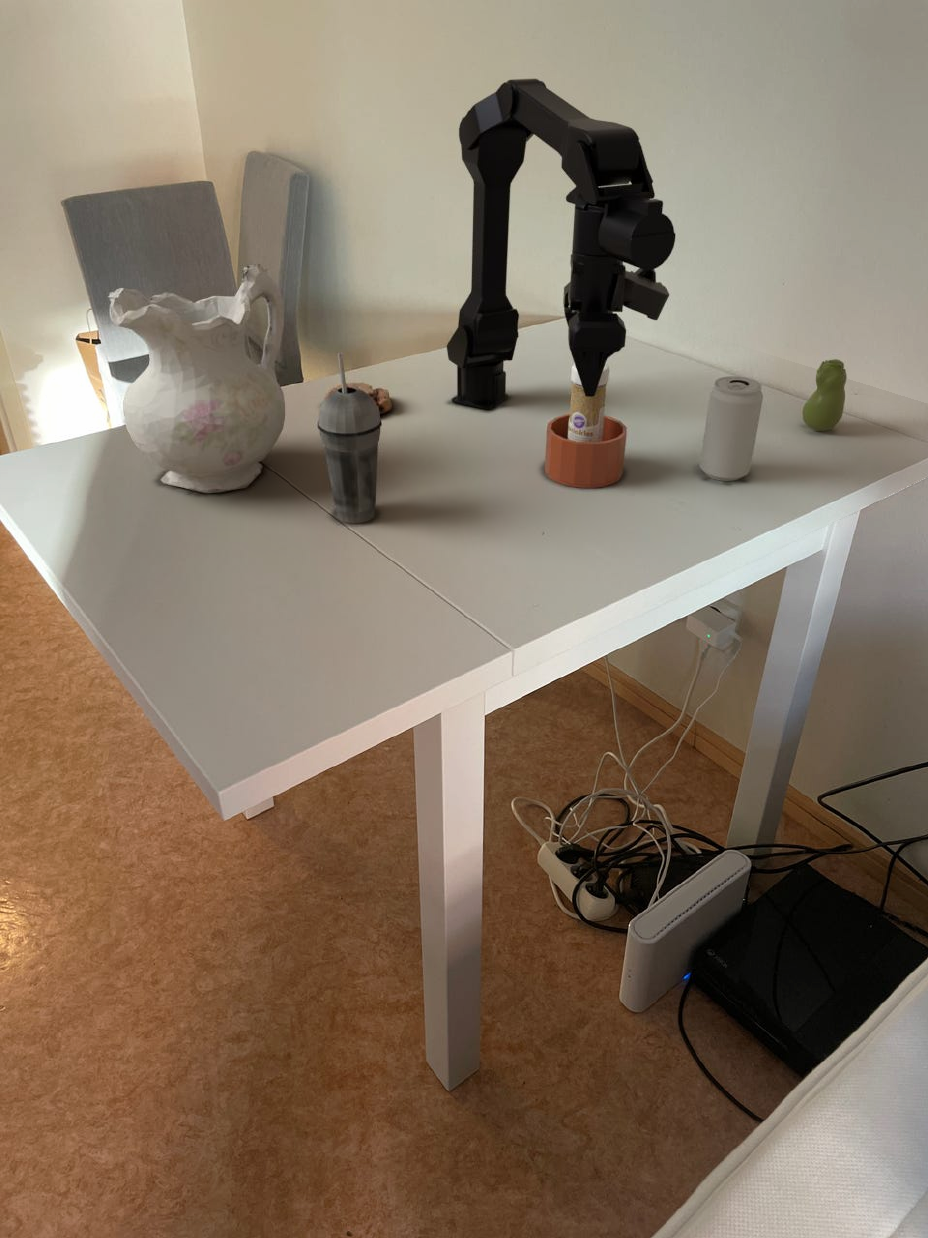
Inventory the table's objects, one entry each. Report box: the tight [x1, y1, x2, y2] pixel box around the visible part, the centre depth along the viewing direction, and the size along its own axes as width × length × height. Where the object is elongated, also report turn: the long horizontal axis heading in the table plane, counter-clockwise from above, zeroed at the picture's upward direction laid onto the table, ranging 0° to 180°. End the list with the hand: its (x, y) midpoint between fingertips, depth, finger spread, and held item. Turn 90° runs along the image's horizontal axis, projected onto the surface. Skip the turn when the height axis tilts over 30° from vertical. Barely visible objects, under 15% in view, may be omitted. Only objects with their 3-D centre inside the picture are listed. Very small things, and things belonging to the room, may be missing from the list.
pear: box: [801, 358, 848, 432], centre depth 134 cm, size 6×5×10 cm
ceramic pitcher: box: [108, 263, 286, 494], centre depth 118 cm, size 22×20×25 cm
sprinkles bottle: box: [568, 363, 610, 443], centre depth 121 cm, size 5×5×13 cm
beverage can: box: [699, 375, 764, 482], centre depth 121 cm, size 6×6×12 cm
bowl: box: [544, 413, 628, 489], centre depth 123 cm, size 10×10×6 cm
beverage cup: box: [317, 351, 383, 525], centre depth 109 cm, size 7×7×20 cm
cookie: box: [323, 382, 393, 415], centre depth 143 cm, size 10×11×3 cm
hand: (587, 382), depth 118 cm, fingers open, 9 cm apart
